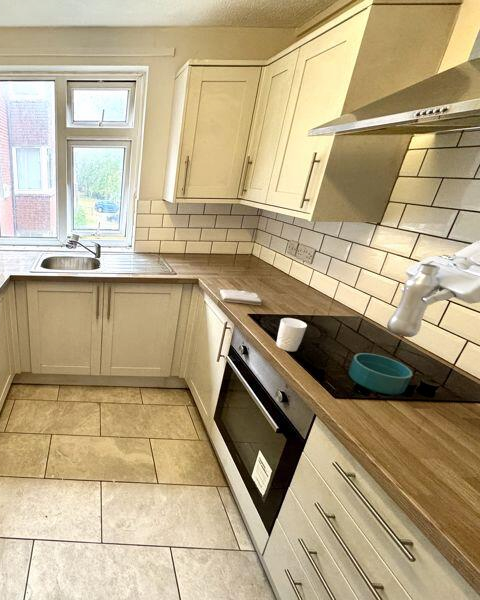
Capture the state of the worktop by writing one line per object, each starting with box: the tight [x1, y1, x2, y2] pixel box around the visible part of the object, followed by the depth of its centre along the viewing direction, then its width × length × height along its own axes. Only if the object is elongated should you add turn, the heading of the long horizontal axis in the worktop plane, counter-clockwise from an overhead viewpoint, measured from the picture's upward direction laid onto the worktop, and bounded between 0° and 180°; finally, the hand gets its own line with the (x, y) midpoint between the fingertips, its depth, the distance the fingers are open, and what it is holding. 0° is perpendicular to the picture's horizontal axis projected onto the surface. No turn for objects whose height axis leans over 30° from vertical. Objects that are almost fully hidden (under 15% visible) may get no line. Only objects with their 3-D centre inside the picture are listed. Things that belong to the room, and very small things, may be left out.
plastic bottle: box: [386, 264, 440, 338], centre depth 85 cm, size 6×7×20 cm
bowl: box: [347, 352, 414, 395], centre depth 96 cm, size 13×13×6 cm
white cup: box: [275, 317, 308, 352], centre depth 114 cm, size 8×8×10 cm
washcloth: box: [219, 289, 263, 306], centre depth 158 cm, size 12×18×3 cm, turn 75°
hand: (413, 296), depth 84 cm, fingers closed on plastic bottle, 6 cm apart
